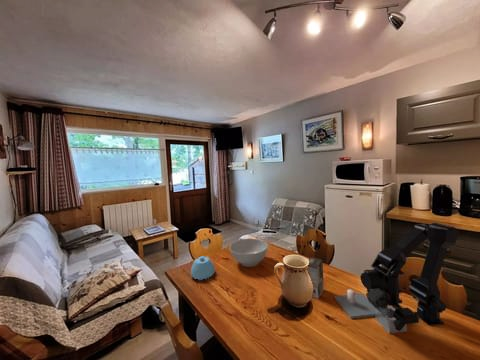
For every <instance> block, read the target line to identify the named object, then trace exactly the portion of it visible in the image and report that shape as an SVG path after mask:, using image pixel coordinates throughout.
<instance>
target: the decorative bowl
mask: <svg viewBox="0 0 480 360" xmlns="http://www.w3.org/2000/svg"><path fill="white" fill-rule="evenodd" d="M268 250H269V243H268V242H266V241H265V240H262V239H259V238H243V239H239V240H236V241H234V242H232V243H231V244H230V245H229V251H230V254H231V256H232V257H233V258H234V260H235V261H236V262H237V263H240V264H241V266H243V267H247V268H252V267H255V266H258V265H259V263H260V262H262V261H263V260H264V259H265V257H266V255H267V254H268Z"/></svg>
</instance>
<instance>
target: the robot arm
mask: <svg viewBox="0 0 480 360" xmlns="http://www.w3.org/2000/svg"><path fill="white" fill-rule="evenodd" d="M459 236H460V232H459V231H458V230H457V228H456V227H454V226H451V225H447V224H443V223H439V222H432V223H416V224H415V225H414V227H413V229H412V230H411V231H409V232H408V233H407V234H406V235H404V237H402V238H401V239H400V240H399V241H398V242H397V243H396V244H395V245H393V246H389V247H386V248H384V249H382V250H381V251H380V252H378V253H377V256H376V257H375V259H374V261H373V262H372V263H371V265H370V267H371V268H372V269H364V270H363V272H362V273H361V275H360V281H361V284H362V285H363V287H364V288H365V289H366V294H365V296H366V297H367V298H368V301H369V302H370V303H371V304H372V305H373V306H374V307H375V308H379V307H380V308H382V309H383V308H385V307H387V306H392V307H393V308H394V309H396V310H395V311H394V315H392V316H393V317H394V318H395V319H396V328H397V330H398V331H400V330H401V329H402V328H403V327H404V325H405V324H407V325H410V324H411V325H412V324H419V323H420V320H422V321H423V322H424V323H425V324H427V325H428V326H435V325H437V326H438V325H442V324H443V325H444V324H445V322H444V320H442V319H441V314H442V313H443V312H444V311H446V310H447V309H446V308H447V304H446V303H445V302H443V301H442V300H441V292H440V289H439V286H438V281H439V278H440V273H441V270H442V267H443V264H444V260H445V257H446V254H447V251H448V249H449V248H451V247H452V246H454V245H455V244H456V242H457V240H458V238H459ZM427 239H428V243H429V244H428V249H427V252H426V255H425V258H424V261H423V265H422V269H421V273H420V276H419V277H418V278H416V279H414V278H412V279H411V281H410V285H409V292H410V294H411V295H412V298H413V299H414V300H416V301H417V306H416V311H413V310H412V309H411V308H409V307H403V306H401V305H400V304H402V303H403V300H402V299H401V298H400V294H402V293H403V290H402V289H401V288H400V276H402V275H404V274H405V272H404V271H402V268H403V267H405V265H406V264H407V257H408V256H409V255H410V254H411V253H413V252H414V251H415V250H416V249H417V248H418V247H420V245H421V244H423V243H424V242H425V241H426V240H427Z"/></svg>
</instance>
